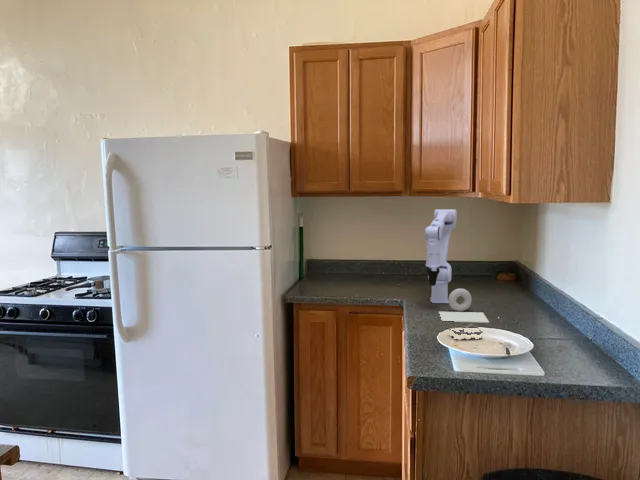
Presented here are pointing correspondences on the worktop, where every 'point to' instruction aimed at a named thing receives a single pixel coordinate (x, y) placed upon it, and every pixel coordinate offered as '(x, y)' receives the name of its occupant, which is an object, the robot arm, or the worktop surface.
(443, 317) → the mat
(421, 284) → the worktop surface
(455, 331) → the egg carton
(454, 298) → the donut
